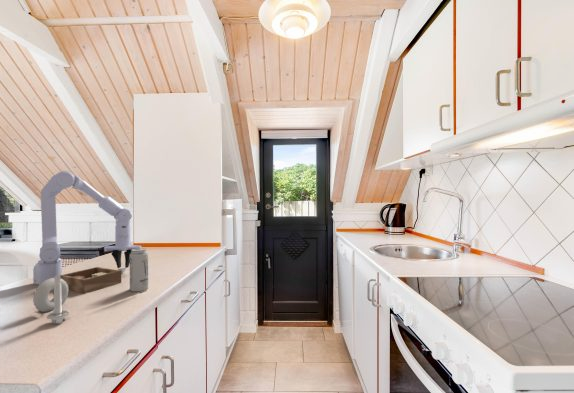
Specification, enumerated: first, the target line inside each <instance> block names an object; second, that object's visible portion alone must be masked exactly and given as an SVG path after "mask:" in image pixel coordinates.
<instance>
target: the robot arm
mask: <svg viewBox="0 0 574 393" xmlns="http://www.w3.org/2000/svg"><path fill="white" fill-rule="evenodd" d="M70 187H71V188H72V189H74V190H77V191H78V190H79V191H82V192H83V193H84V194H86V195H88V196H89V197H91V198H92V199H93V200H95V201H96V202H97V204H98V208H100V209H101V210H103V211H104V212H106V213H107V214H108V215H109V216H111V217H113V218H114V219H115V226H114V227H115V232H114V234H115V241H114V242H115V245H108V246H104V247H103V250H104V252H105V253H106V252H111V256H112V257H113V259H114V261H115V264H116V267H117V269H120V268H121V267H122V254H124V262H125V263H124V267H125V268H127V269H128V268H130V253H131V252H132V251H131V250H133V249H139V248H142V245H138V244H137V245H135V244H133V245H131V225H130V224H131V220H132V217H133V216H132V214H131V211H130V210H129V209H127V208H125V205H123V204H120V203H119V202H118V201H116V199H115V197H113V196H111V197H110V195H109V196H108V195H107V196H104V195H103V194H101V192H99V191H98V190H96V189H95V187H93V186H91V185H90V184H89V183H88V182H86V181H85V180H84V179H83V178H82V179H81V178H80V177H79V176H77V175H74V174H73V173H72V172H70V171H66V170H62V171H60V172H59V171H58V172H57V173H56V174H54V175H53V176H52V177H51V178H50V179H49V181H47V182H46V184H45V185H44V186H43V187H42V188H41V190H40V208H41V209H40V210H41V236H42V237H41V239H42V240H41V242H42V243H41V244H42V245H41V248H40V249H39V255H38V256H39V259H40V260H38V262H37V263H36V264H35V265H34V267H33V269H32V271H33V273H32V274H33V275H32V277H33V278H32V279H33V280H32V281H33V284H34V285H38V286H39V285H40V284H41V283H43V282H44V281H45V280H48V279H50V278H54V277H55V276H56V275H59V276H60V275H63V259H62V258H60V257H61V255H62V254H61V249H60V246H59V245H58V234H57V231H58V230H57V205H56V204H57V203H56V196H57V195H58V194H60V193H61V192H62V191H64V190H66V189H68V188H70ZM123 251H124V253H123Z"/></svg>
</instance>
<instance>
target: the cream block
mask: <svg viewBox="0 0 574 393" xmlns="http://www.w3.org/2000/svg"><path fill="white" fill-rule="evenodd" d="M103 274H107V273H104V272H101V273H96V274H92V277H96V276H99V275H103Z"/></svg>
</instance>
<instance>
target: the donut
mask: <svg viewBox="0 0 574 393" xmlns="http://www.w3.org/2000/svg"><path fill="white" fill-rule="evenodd" d="M60 283H61V285H62V286H61V287H62V288H61V289H62V290H61V291H62V292H61V293H62V294H61V295H62V297H61V298H62V299H61V300H62V301H61V302H62V303H61V304H62V305H61V306H62V307H63V305H64V304H65V302H66V300H67V299H68V296H69V289H68V285H67V283H66V282H65V281H64V280H63V279H60ZM54 284H55V281H54V278H50V279H48V280H45V281H44V282H43V283H41V284H40V285H38V287H37V288H36V289H35V291H34V294H33V300H32V301H33V305H34V307H35V309H36V310H38V311H39V312H41V313H49V312H53V311H54V301H53V300H54V299H53V298H52V299H50V300H49V294H50V293H51V292H52V291H53V290H54V288H53V287H54Z"/></svg>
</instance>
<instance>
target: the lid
mask: <svg viewBox="0 0 574 393" xmlns="http://www.w3.org/2000/svg"><path fill="white" fill-rule="evenodd" d="M117 270H121V275H124V274H125V273H127V272H128V268H125V266H121V267H120V268H117Z"/></svg>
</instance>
